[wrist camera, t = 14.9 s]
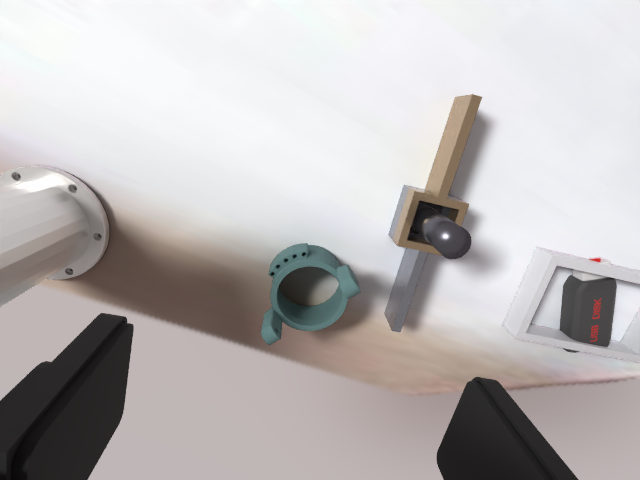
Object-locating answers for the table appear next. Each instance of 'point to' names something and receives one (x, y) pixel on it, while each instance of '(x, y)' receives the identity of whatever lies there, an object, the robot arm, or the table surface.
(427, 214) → the hinge pin
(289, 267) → the teal round tub
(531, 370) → the table surface
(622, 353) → the parts tray frame
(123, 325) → the robot arm
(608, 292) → the usb flash stick
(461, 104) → the hinge
